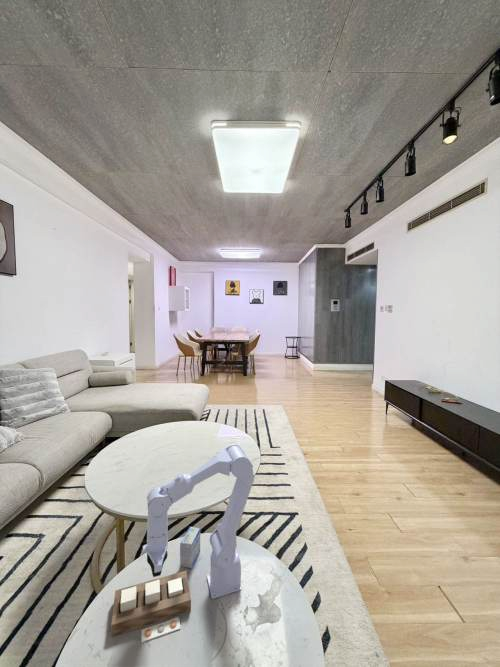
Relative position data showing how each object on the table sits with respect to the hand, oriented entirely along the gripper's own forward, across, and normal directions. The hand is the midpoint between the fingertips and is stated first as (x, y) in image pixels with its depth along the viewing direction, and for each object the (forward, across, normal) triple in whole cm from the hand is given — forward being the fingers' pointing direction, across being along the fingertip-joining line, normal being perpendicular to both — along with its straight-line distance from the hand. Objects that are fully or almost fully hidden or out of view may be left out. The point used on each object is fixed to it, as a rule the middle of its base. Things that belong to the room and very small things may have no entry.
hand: (156, 574), depth 84 cm
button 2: (+8, 0, +5) cm, 10 cm away
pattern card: (+10, +8, +1) cm, 12 cm away
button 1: (+7, 0, -8) cm, 10 cm away
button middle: (+7, 0, -1) cm, 7 cm away
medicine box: (+10, -13, +12) cm, 20 cm away
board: (+10, 0, -1) cm, 10 cm away
